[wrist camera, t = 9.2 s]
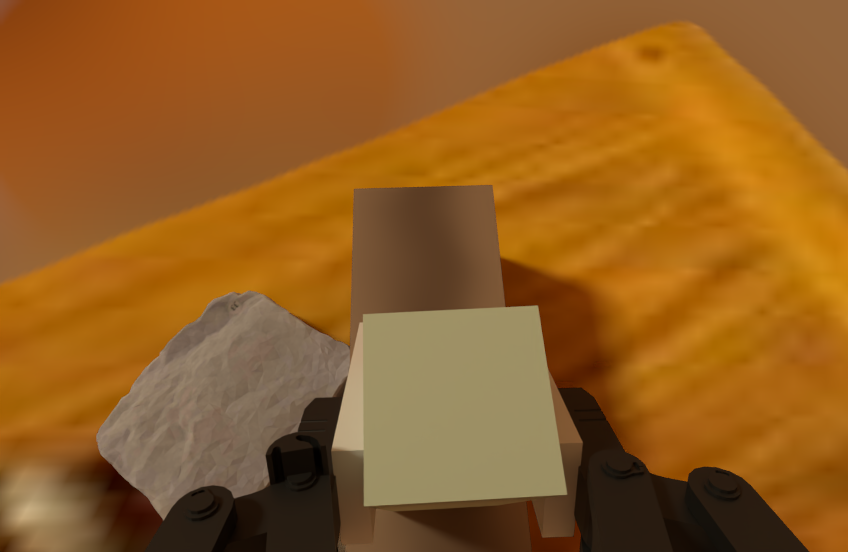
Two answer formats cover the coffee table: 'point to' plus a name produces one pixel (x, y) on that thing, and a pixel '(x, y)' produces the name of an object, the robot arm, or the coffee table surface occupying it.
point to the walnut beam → (431, 291)
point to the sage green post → (458, 410)
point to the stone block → (221, 400)
